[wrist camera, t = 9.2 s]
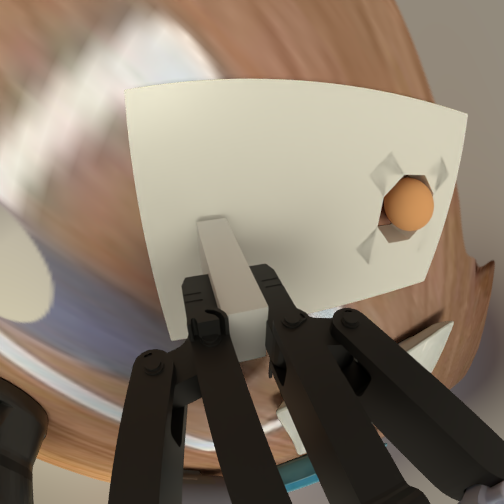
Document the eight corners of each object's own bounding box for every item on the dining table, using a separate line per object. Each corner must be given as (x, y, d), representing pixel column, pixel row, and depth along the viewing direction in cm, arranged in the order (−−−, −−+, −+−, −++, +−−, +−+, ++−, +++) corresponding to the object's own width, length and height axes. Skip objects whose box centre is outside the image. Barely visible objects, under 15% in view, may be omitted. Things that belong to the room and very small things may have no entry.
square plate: (441, 303, 35) (458, 320, 32) (408, 385, 51) (417, 398, 48) (266, 391, 33) (276, 417, 29) (293, 442, 49) (299, 458, 46)
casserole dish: (262, 481, 69) (269, 500, 63) (238, 474, 55) (246, 498, 49) (373, 434, 70) (383, 452, 64) (379, 415, 57) (392, 437, 51)
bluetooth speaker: (116, 469, 39) (121, 513, 31) (134, 459, 37) (141, 509, 29) (208, 477, 52) (218, 513, 44) (233, 467, 49) (245, 506, 41)
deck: (408, 266, 27) (423, 280, 25) (168, 316, 21) (171, 340, 19) (445, 107, 18) (467, 114, 16) (130, 89, 12) (124, 90, 10)
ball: (406, 214, 22) (435, 239, 19) (369, 216, 22) (398, 243, 18) (416, 171, 20) (449, 191, 17) (379, 168, 19) (412, 190, 16)
